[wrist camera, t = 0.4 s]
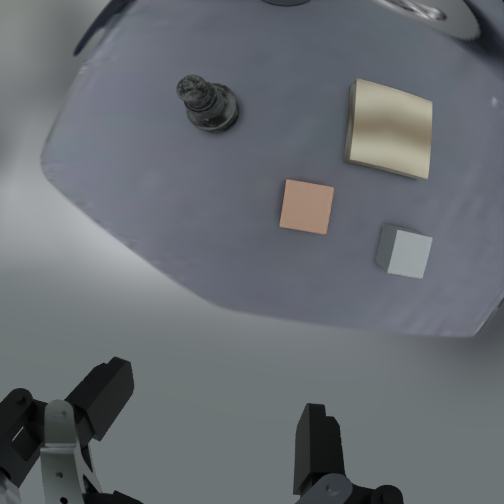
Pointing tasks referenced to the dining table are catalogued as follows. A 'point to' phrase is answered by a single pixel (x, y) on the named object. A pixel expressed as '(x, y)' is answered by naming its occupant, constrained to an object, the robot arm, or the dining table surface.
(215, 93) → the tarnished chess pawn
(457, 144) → the dining table surface
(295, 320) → the dining table surface
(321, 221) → the terracotta cube
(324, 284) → the dining table surface
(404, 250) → the grey cube
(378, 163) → the birch block
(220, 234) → the dining table surface
